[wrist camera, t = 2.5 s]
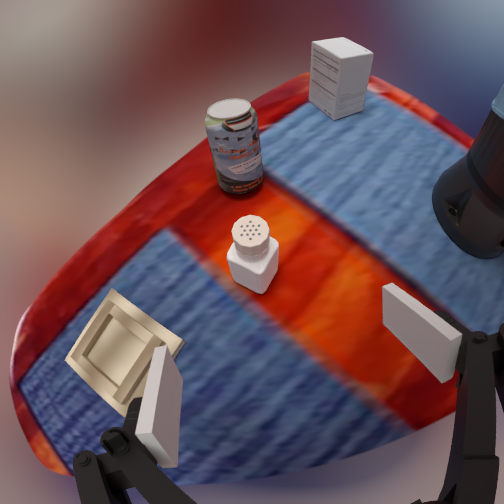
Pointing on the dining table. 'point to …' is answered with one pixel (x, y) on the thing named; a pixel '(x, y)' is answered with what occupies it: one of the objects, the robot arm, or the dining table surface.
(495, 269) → the dining table surface
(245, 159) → the beverage can
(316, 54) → the supplement box
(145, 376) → the tray
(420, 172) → the dining table surface
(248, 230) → the pepper shaker
